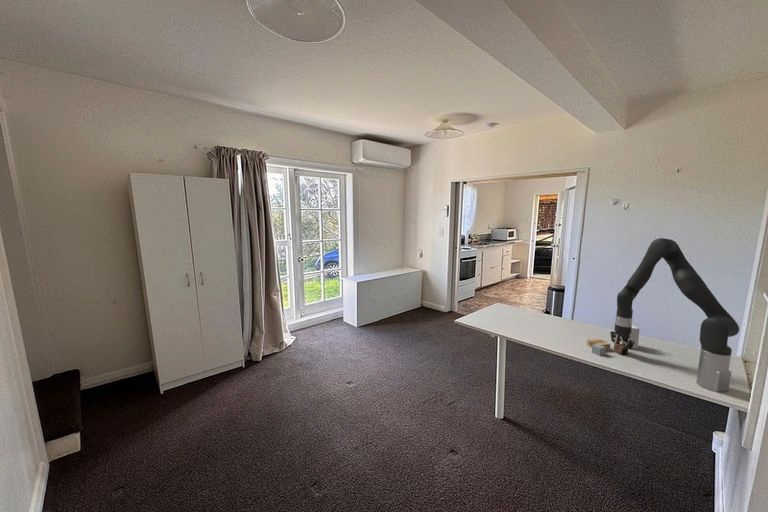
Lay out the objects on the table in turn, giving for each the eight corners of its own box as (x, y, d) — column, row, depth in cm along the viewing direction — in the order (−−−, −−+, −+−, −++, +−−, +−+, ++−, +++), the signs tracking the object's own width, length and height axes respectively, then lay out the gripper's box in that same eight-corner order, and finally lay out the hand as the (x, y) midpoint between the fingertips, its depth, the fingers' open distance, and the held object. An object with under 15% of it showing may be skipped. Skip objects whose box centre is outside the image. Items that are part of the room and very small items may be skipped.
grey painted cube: (604, 354, 169) (605, 347, 169) (599, 355, 168) (600, 348, 167) (596, 351, 173) (597, 344, 173) (591, 352, 172) (592, 345, 171)
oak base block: (609, 350, 175) (610, 343, 174) (597, 351, 173) (598, 345, 173) (598, 344, 182) (598, 338, 182) (586, 345, 181) (587, 339, 181)
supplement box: (638, 349, 175) (640, 328, 173) (623, 348, 177) (625, 327, 175) (630, 343, 182) (632, 324, 181) (616, 342, 184) (618, 323, 182)
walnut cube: (627, 354, 169) (628, 347, 168) (620, 355, 168) (621, 347, 168) (620, 351, 173) (621, 343, 172) (613, 351, 173) (614, 344, 172)
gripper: (641, 328, 162) (638, 357, 164) (618, 319, 176) (615, 346, 178) (628, 329, 161) (625, 358, 163) (606, 320, 175) (604, 347, 177)
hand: (620, 352), depth 171 cm, fingers closed on walnut cube, 4 cm apart
